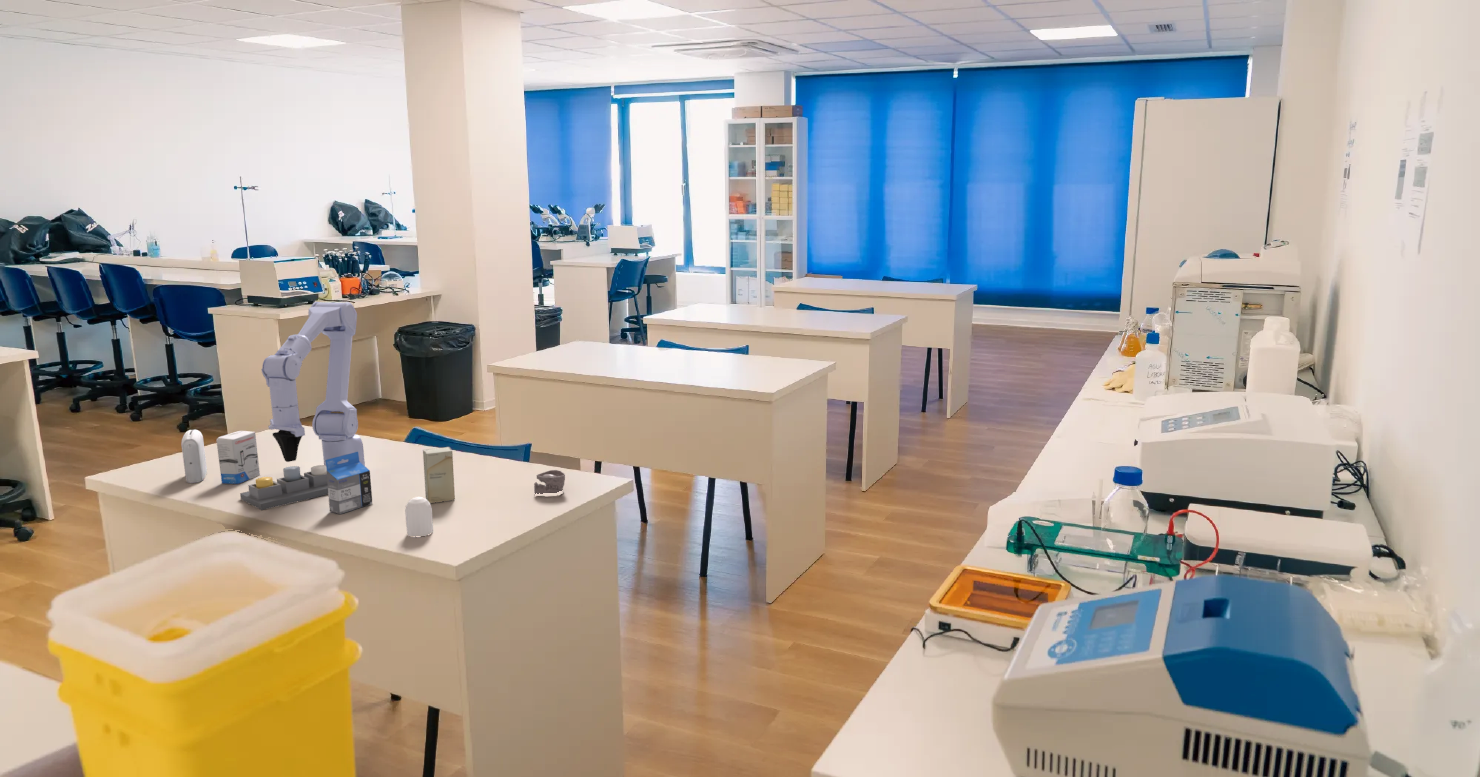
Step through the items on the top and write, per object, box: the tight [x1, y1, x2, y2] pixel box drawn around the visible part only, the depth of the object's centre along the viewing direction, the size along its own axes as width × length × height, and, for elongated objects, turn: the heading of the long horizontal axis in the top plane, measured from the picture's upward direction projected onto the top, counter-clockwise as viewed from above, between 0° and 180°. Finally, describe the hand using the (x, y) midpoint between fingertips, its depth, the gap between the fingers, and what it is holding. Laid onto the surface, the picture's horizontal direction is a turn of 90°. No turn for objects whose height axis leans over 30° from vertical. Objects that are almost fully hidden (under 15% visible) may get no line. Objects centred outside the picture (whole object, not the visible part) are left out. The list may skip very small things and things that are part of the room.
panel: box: [239, 471, 328, 511], centre depth 229 cm, size 20×12×4 cm, turn 138°
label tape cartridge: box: [325, 452, 374, 515], centre depth 218 cm, size 9×4×12 cm, turn 148°
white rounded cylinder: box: [404, 496, 434, 538], centre depth 203 cm, size 5×5×8 cm
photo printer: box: [181, 429, 208, 484], centre depth 242 cm, size 10×4×12 cm, turn 23°
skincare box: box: [422, 446, 456, 504], centre depth 224 cm, size 6×4×12 cm
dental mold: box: [533, 469, 566, 495], centre depth 229 cm, size 8×7×5 cm
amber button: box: [255, 476, 274, 489], centre depth 224 cm, size 4×4×3 cm
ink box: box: [216, 430, 261, 485], centre depth 241 cm, size 9×5×12 cm, turn 168°
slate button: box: [282, 465, 302, 482], centre depth 228 cm, size 4×4×3 cm
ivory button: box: [310, 464, 327, 476], centre depth 233 cm, size 4×4×3 cm
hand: (290, 460), depth 228 cm, fingers closed
